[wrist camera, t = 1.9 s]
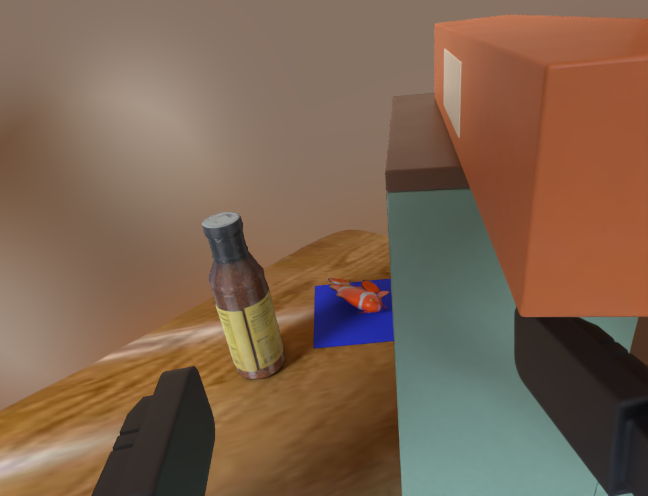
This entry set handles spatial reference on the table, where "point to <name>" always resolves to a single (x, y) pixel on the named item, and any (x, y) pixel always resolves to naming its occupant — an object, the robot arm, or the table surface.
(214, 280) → the sauce bottle
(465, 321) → the stand
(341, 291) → the fish
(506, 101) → the box
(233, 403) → the table surface
